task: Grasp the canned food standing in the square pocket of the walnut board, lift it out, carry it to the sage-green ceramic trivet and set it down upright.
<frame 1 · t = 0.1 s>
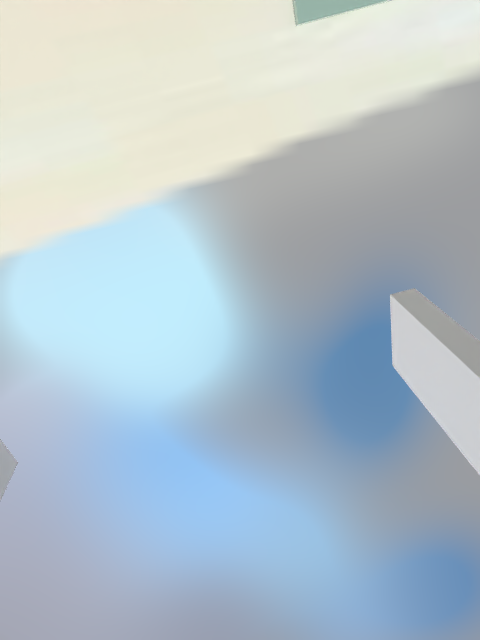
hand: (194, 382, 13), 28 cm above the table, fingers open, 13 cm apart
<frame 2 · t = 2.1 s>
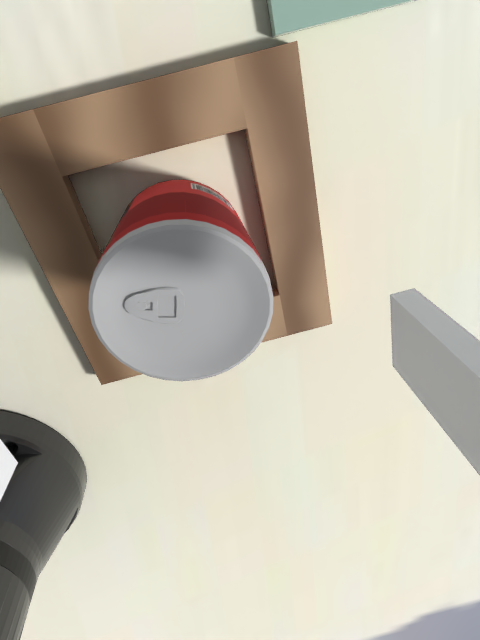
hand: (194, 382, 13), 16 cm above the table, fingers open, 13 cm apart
canned food: (182, 235, 27), resting in pocket board
pocket board: (182, 236, 27), on the table
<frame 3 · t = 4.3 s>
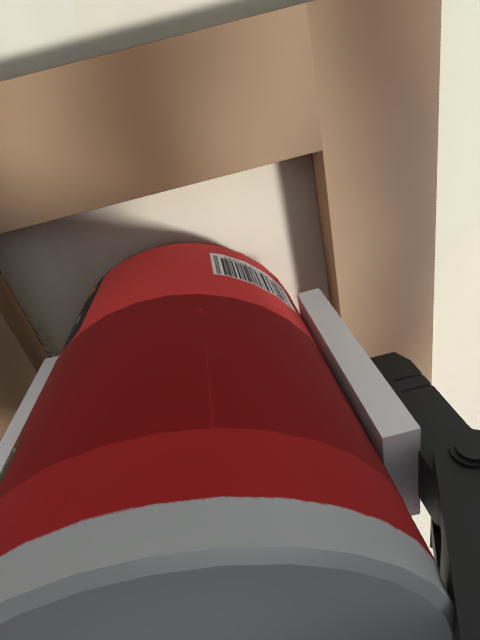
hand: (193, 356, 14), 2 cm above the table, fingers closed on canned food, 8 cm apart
canned food: (192, 328, 16), resting in pocket board, touching gripper
pocket board: (192, 331, 15), on the table
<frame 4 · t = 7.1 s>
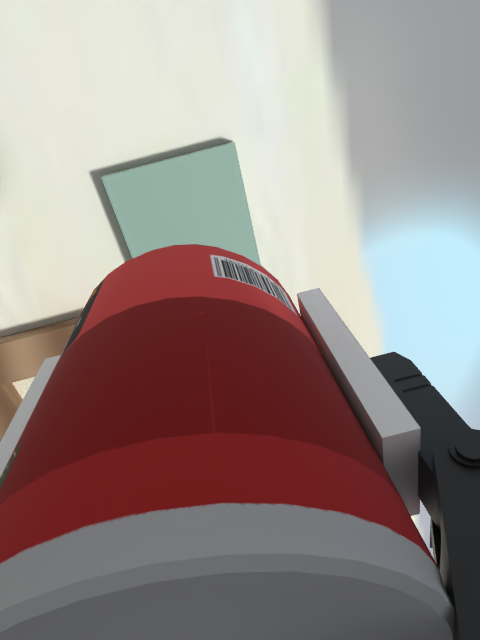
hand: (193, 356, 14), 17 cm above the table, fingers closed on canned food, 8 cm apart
trivet: (187, 223, 29), on the table
canned food: (192, 329, 16), point 15 cm above the table, touching gripper
pocket board: (97, 407, 36), on the table
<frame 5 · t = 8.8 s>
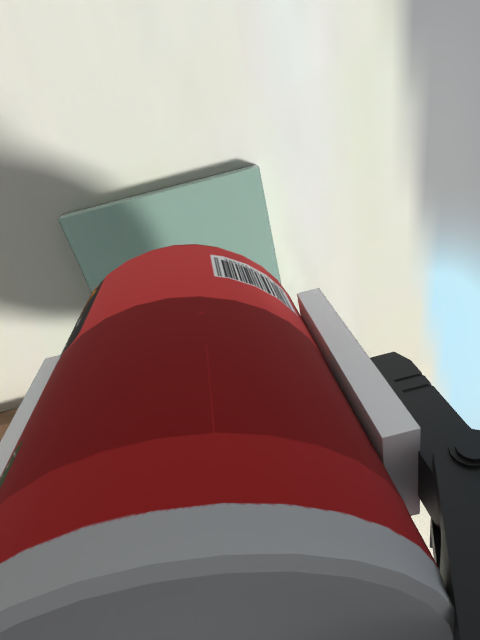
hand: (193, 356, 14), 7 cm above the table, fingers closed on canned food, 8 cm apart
trivet: (187, 278, 20), on the table
canned food: (192, 329, 15), point 5 cm above the table, touching gripper
when the fingers open (4 cm above the table, at t = 10.3 s): canned food drops 2 cm, resting on trivet.
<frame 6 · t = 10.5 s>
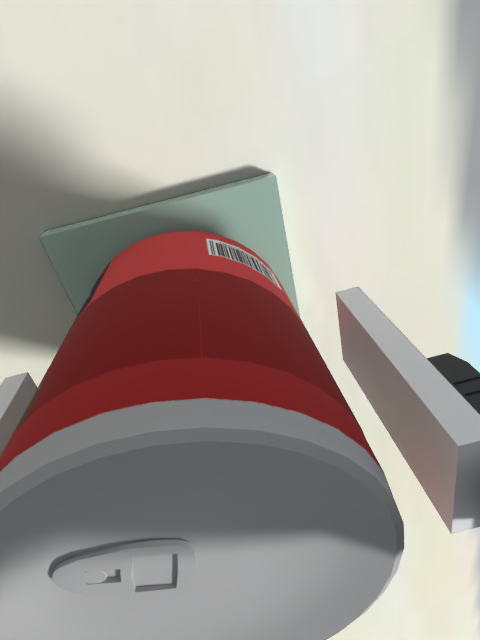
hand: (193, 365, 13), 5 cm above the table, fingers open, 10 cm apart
trivet: (191, 302, 17), on the table
canned food: (190, 311, 17), point 1 cm above the table, touching trivet
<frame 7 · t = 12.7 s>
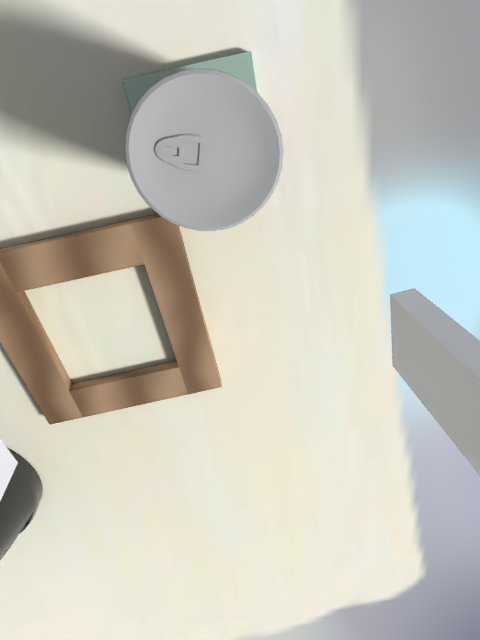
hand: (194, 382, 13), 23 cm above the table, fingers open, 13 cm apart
trivet: (201, 135, 30), on the table
canned food: (201, 137, 29), point 1 cm above the table, touching trivet
pocket board: (106, 326, 37), on the table
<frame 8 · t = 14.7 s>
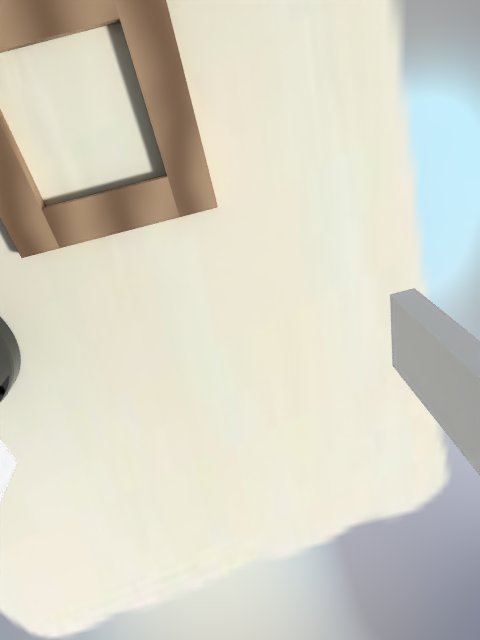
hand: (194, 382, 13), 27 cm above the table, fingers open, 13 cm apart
pocket board: (80, 121, 32), on the table
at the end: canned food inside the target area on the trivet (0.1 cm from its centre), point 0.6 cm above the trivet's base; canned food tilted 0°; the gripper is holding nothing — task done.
